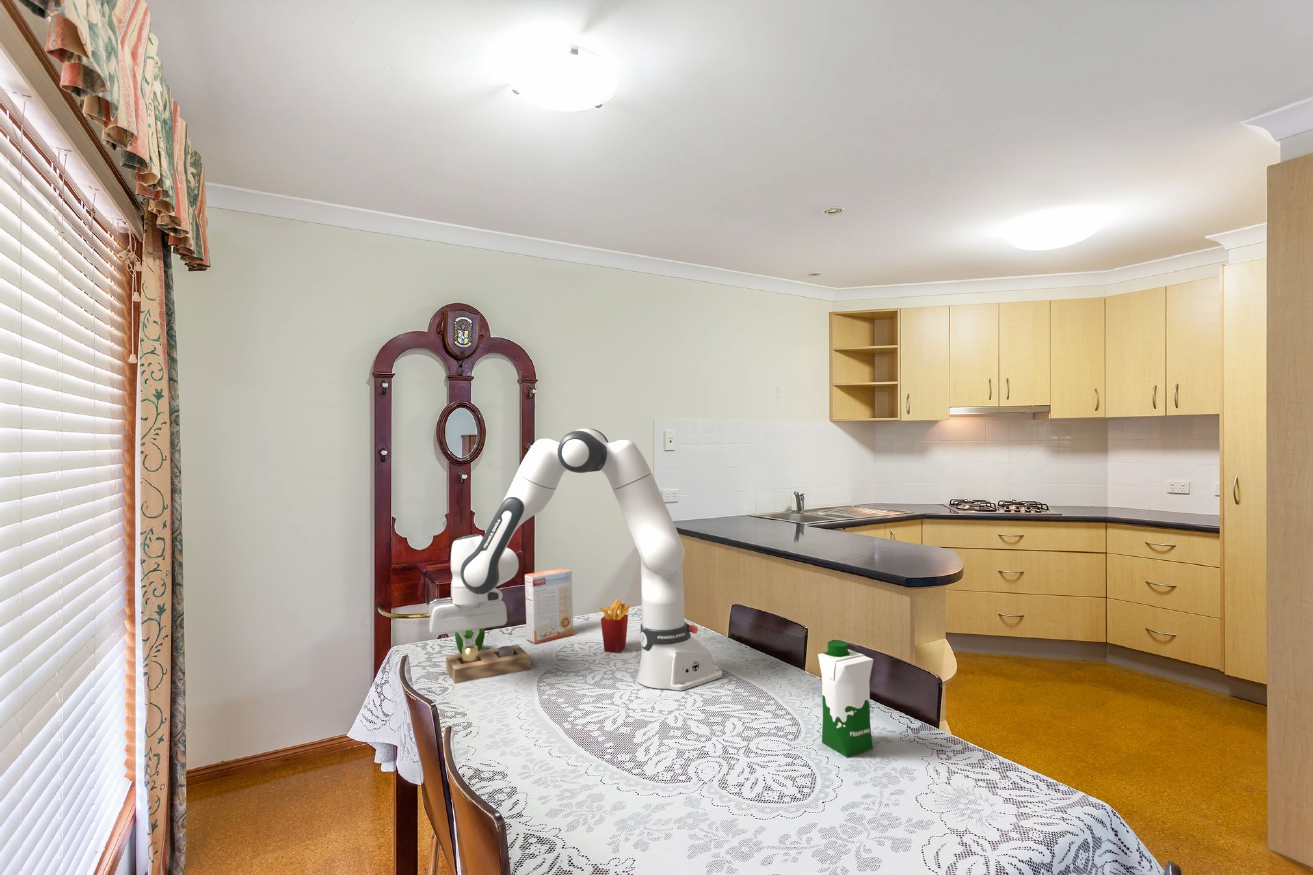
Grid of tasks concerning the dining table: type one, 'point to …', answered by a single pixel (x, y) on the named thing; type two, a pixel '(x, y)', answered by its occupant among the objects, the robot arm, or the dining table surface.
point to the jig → (488, 663)
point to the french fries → (615, 627)
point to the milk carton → (845, 699)
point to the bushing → (469, 654)
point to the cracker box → (548, 605)
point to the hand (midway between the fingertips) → (469, 646)
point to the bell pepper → (469, 635)
